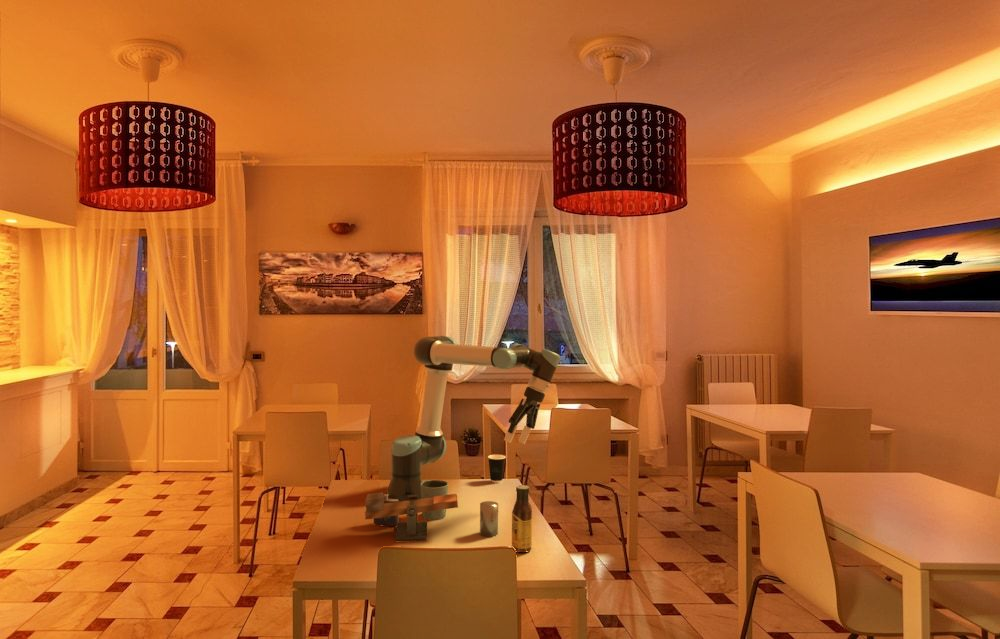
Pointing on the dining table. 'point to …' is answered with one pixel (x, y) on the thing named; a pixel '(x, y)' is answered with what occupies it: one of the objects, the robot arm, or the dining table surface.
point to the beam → (379, 509)
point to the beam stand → (411, 526)
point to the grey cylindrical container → (431, 490)
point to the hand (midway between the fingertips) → (514, 442)
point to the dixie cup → (496, 467)
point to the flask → (391, 519)
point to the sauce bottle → (522, 521)
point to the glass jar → (488, 519)
